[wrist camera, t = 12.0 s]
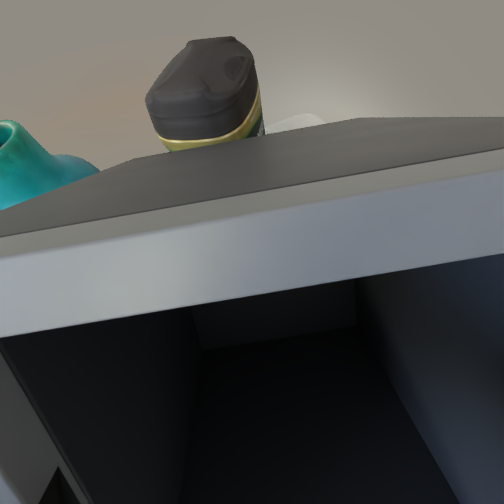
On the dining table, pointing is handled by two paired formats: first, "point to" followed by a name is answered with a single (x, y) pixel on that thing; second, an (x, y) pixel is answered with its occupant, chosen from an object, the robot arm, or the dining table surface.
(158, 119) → the coffee jar
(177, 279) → the grey hollow box
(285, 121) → the dining table surface
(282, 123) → the dining table surface
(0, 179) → the vase
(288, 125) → the dining table surface
